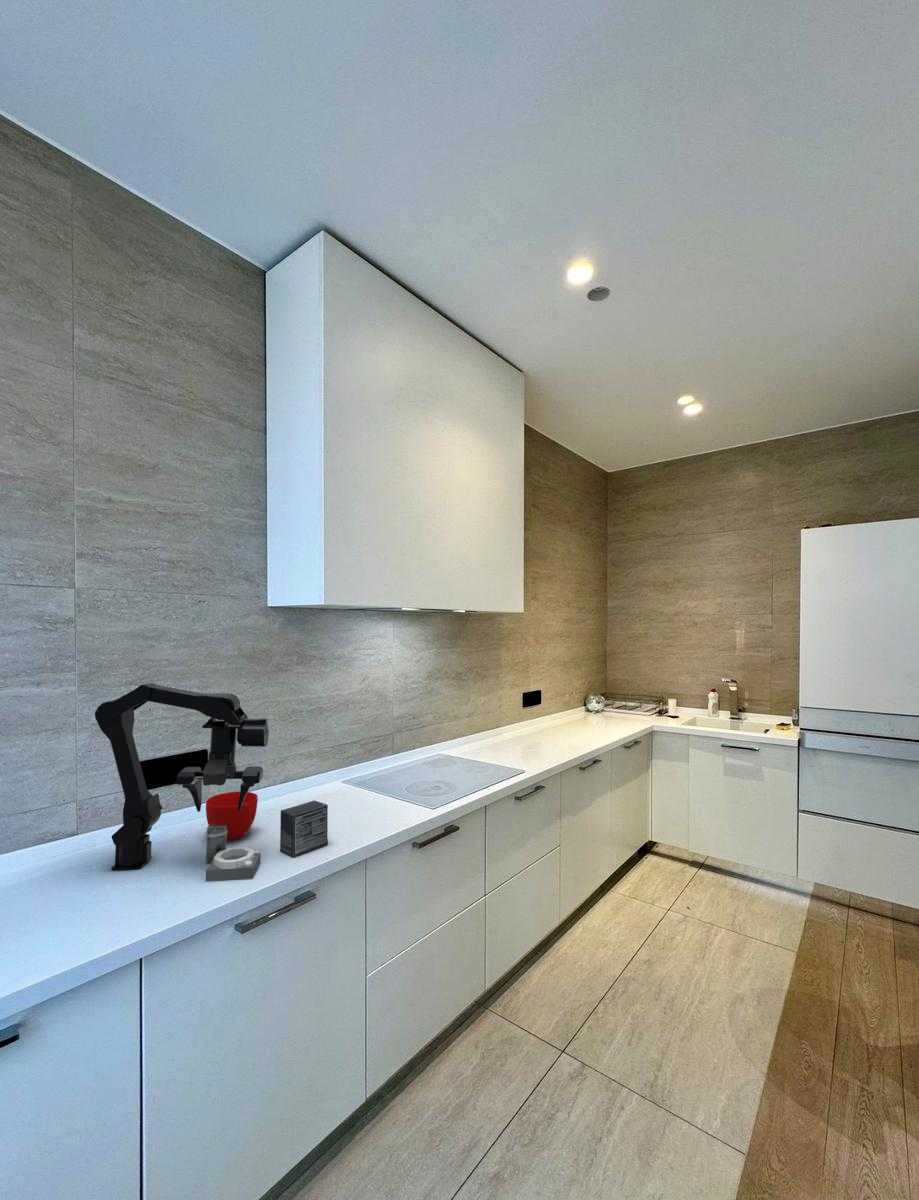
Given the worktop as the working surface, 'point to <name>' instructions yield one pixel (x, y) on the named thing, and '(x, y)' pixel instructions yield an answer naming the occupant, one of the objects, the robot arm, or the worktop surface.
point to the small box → (303, 828)
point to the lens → (215, 840)
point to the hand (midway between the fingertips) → (219, 811)
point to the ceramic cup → (232, 813)
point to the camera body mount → (233, 864)
